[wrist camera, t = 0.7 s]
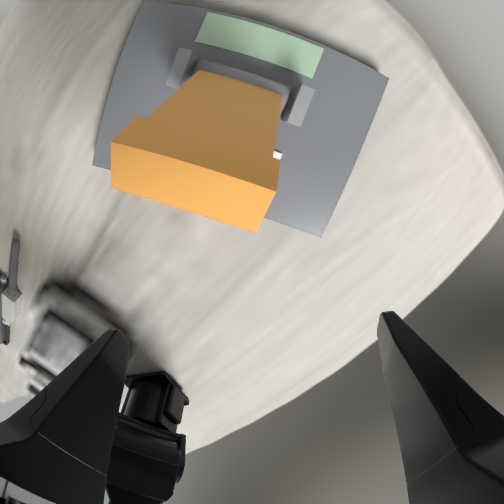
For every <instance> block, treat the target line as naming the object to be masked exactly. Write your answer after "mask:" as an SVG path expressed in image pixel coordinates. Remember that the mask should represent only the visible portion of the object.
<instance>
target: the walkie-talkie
mask: <svg viewBox="0 0 504 504" xmlns="http://www.w3.org/2000/svg"><path fill="white" fill-rule="evenodd" d="M19 247H20V244H19V240H18V239H14V240H13V242H12V248H11V258H10V271H9V281H8V280H7V277H6V276H5V275H1V274H0V344H1V343H4V344H5V345H8V343H9V342H10V336H9V334H10V326H9V325H10V324H11V323H12V322H14V320H15V319H16V318H17V317H18V316H19V314H20V305H21V299H22V293H21V292H19V291H18V290H17V285H16V283H17V271H18V255H19Z"/></svg>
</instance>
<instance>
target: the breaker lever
mask: <svg viewBox="0 0 504 504" xmlns="http://www.w3.org/2000/svg"><path fill="white" fill-rule="evenodd" d="M290 90H291V87H290V86H287V85H285V84H282V83H279V82H276V81H274V80H271V79H268V78H265V77H262V76H259V75H256V74H253V73H250V72H247V71H243V70H240V69H237V68H233V67H230V66H226V65H223V64H219V63H215V62H211V61H207V60H203V59H200V60H199V62H198V63H197V65H196V67H195V69H194V72H193V75H192V77H191V78H190V79H188V80H187V81H186V82H185V83H184V84H183V85H182V86H181V87H180V88H178V89H177V90H176V91H175V92H174V93H173V94H172V95H171V96H170V97H169V98H168V99H167V100H166V101H165V102H164V103H163V104H162V105H161V106H160V107H159V108H158V109H157V110H156V111H155V112H154V113H153V114H152V115H151V116H150V117H149V118H148V119H144V118H140V117H135V118H134V119H133V120H132V121H131V122H130V123H129V124H128V125H127V126H126V127H125V128H124V129H123V130H122V131H121V132H120V133H119V134H118V135H117V136H116V137H115V138H114V139H113V140H112V141H111V186H112V188H114V189H117V190H120V191H123V192H127V193H130V194H133V195H137V196H140V197H143V198H146V199H150V200H153V201H156V202H159V203H163V204H166V205H169V206H172V207H176V208H179V209H182V210H185V211H188V212H191V213H195V214H198V215H201V216H204V217H207V218H210V219H214V220H217V221H220V222H223V223H226V224H229V225H232V226H235V227H238V228H241V229H245V230H248V231H251V232H254V233H256V231H257V230H258V228H259V226H260V224H261V222H262V220H263V218H264V216H265V214H266V212H267V210H268V208H269V206H270V204H271V202H272V200H273V198H274V196H275V194H276V192H277V185H278V177H279V169H280V161H281V160H279V159H276V158H274V157H273V153H274V148H275V142H276V136H277V130H278V124H279V118H280V115H281V113H282V111H283V109H284V106H285V104H286V102H287V99H288V96H289V94H290Z"/></svg>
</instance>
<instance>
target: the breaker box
mask: <svg viewBox="0 0 504 504" xmlns="http://www.w3.org/2000/svg"><path fill="white" fill-rule="evenodd" d="M200 59H203V60H207V61H211V62H215V63H219V64H223V65H226V66H230V67H233V68H237V69H240V70H243V71H247V72H250V73H253V74H256V75H259V76H262V77H265V78H268V79H271V80H274V81H276V82H279V83H282V84H285V85H287V86H290V87H291V90H290V94H289V96H288V99H287V102H286V104H285V106H284V109H283V111H282V113H281V115H280V118H279V124H278V130H277V136H276V142H275V148H274V153H273V157H274V158H276V159H279V160H281V161H280V169H279V177H278V185H277V192H276V194H275V196H274V198H273V200H272V202H271V204H270V206H269V208H268V210H267V212H266V214H265V216H264V218H267V219H270V220H272V221H275V222H278V223H281V224H284V225H287V226H290V227H293V228H296V229H299V230H301V231H304V232H307V233H310V234H313V235H315V236H318V237H322V235H323V233H324V231H325V229H326V227H327V225H328V222H329V220H330V218H331V216H332V214H333V212H334V210H335V207H336V205H337V203H338V201H339V199H340V196H341V194H342V192H343V190H344V188H345V185H346V183H347V181H348V179H349V176H350V174H351V172H352V169H353V167H354V165H355V162H356V160H357V158H358V155H359V153H360V151H361V148H362V146H363V144H364V141H365V139H366V136H367V134H368V131H369V129H370V127H371V124H372V122H373V119H374V117H375V114H376V112H377V109H378V106H379V104H380V101H381V99H382V96H383V93H384V91H385V88H386V85H387V83H388V80H389V78H388V77H386V76H384V75H383V74H381V73H379V72H377V71H375V70H374V69H372V68H370V67H368V66H366V65H364V64H362V63H360V62H358V61H357V60H355V59H353V58H350V57H348V56H346V55H344V54H342V53H340V52H338V51H336V50H334V49H331V48H329V47H327V46H324V45H322V44H320V43H317V42H315V41H313V40H310V39H308V38H305V37H302V36H300V35H297V34H295V33H292V32H289V31H286V30H283V29H280V28H277V27H274V26H271V25H268V24H265V23H262V22H259V21H255V20H252V19H248V18H244V17H241V16H237V15H233V14H229V13H225V12H220V11H216V10H211V9H206V8H201V7H195V6H189V5H183V4H176V3H168V2H160V1H150V0H143V2H142V4H141V7H140V9H139V11H138V13H137V16H136V18H135V20H134V23H133V25H132V27H131V30H130V32H129V35H128V37H127V40H126V43H125V45H124V48H123V51H122V54H121V56H120V59H119V62H118V65H117V68H116V71H115V74H114V77H113V81H112V84H111V87H110V91H109V94H108V98H107V101H106V105H105V109H104V113H103V117H102V121H101V125H100V129H99V134H98V138H97V143H96V148H95V153H94V158H93V164H92V165H94V166H98V167H101V168H105V169H109V170H111V141H112V140H113V139H114V138H115V137H116V136H117V135H118V134H119V133H120V132H121V131H122V130H123V129H124V128H125V127H126V126H127V125H128V124H129V123H130V122H131V121H132V120H133V119H134V118H135V117H140V118H144V119H148V118H149V117H150V116H151V115H152V114H153V113H154V112H155V111H156V110H157V109H158V108H159V107H160V106H161V105H162V104H163V103H164V102H165V101H166V100H167V99H168V98H169V97H170V96H171V95H172V94H173V93H174V92H175V91H176V90H177V89H178V88H180V87H181V86H182V85H183V84H184V83H185V82H186V81H187V80H188V79H190V78H191V77H192V75H193V72H194V69H195V67H196V65H197V63H198V62H199V60H200Z"/></svg>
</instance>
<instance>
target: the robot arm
mask: <svg viewBox="0 0 504 504" xmlns="http://www.w3.org/2000/svg"><path fill="white" fill-rule="evenodd" d="M377 337H378V342H379V349H380V355H381V361H382V368H383V374H384V379H385V383H386V387H387V391H388V395H389V399H390V403H391V407H392V412H393V416H394V420H395V425H396V429H397V434H398V439H399V444H400V449H401V454H402V459H403V465H404V471H405V477H406V482H407V490H408V497H409V504H504V416H503V415H502V414H501V413H499V412H498V411H497V410H496V409H495V408H493V407H492V406H491V405H490V404H489V403H487V402H486V401H485V400H484V399H483V398H482V397H481V396H480V395H479V394H478V393H477V392H475V390H473V388H471V387H470V386H469V385H468V384H467V382H466V381H464V379H463V378H460V375H459V374H458V373H457V372H456V371H455V370H454V369H453V368H452V367H451V366H450V365H449V364H448V363H447V362H446V361H445V360H444V359H443V358H442V357H441V356H440V355H439V354H438V353H437V352H436V351H435V350H434V349H433V348H432V347H431V346H430V345H428V344H427V342H425V341H424V340H423V339H422V338H421V337H420V336H419V335H418V334H417V333H416V332H415V331H414V330H413V329H412V328H411V327H410V326H409V325H408V324H407V323H406V322H405V321H403V320H402V319H401V318H400V317H399V316H398V315H397V314H396V313H395V312H394V311H386V312H382V313H381V314H380V317H379V323H378V328H377ZM129 350H130V347H129V343H128V341H127V340H126V338H125V337H124V335H123V334H122V332H121V331H120V330H119V329H109V330H107V331H106V332H105V333H104V334H103V335H102V336H101V337H100V338H98V339H97V340H96V341H95V342H94V343H93V344H92V345H91V346H89V347H88V348H87V349H86V350H85V351H84V352H83V353H82V354H81V355H79V356H78V357H77V358H76V359H75V360H74V361H73V362H72V363H71V364H70V365H68V366H67V367H66V368H65V369H64V370H63V371H62V372H61V373H60V374H59V375H58V376H56V377H55V378H54V379H53V380H52V381H51V382H50V383H49V384H48V386H46V387H45V388H44V389H43V390H41V391H40V392H39V393H38V394H37V395H36V396H35V397H34V398H33V399H31V400H30V401H29V402H28V403H27V404H25V406H23V407H22V408H21V409H20V410H18V411H17V412H16V413H14V414H13V415H12V416H11V417H10V418H8V419H7V420H5V421H3V422H1V423H0V504H103V503H104V494H105V489H106V491H107V494H108V497H109V503H108V504H162V503H163V502H164V501H167V500H168V499H169V498H170V497H171V496H172V495H173V490H174V485H175V483H178V482H179V481H180V479H181V477H182V474H183V470H184V466H185V444H186V435H184V434H178V433H176V430H177V425H178V424H180V423H181V419H182V413H183V408H184V406H185V405H189V400H188V399H187V398H186V397H185V395H184V394H183V393H182V392H181V391H180V390H179V388H178V387H177V386H176V385H175V384H174V382H173V381H172V380H171V379H170V377H169V376H168V375H167V374H166V373H165V372H155V373H148V374H141V375H134V376H126V370H127V363H128V356H129ZM124 384H125V385H126V386H127V387H128V388H129V390H128V393H127V396H126V399H125V402H124V404H123V407H122V410H121V413H119V412H118V411H119V407H120V402H121V398H122V393H123V389H124Z"/></svg>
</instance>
